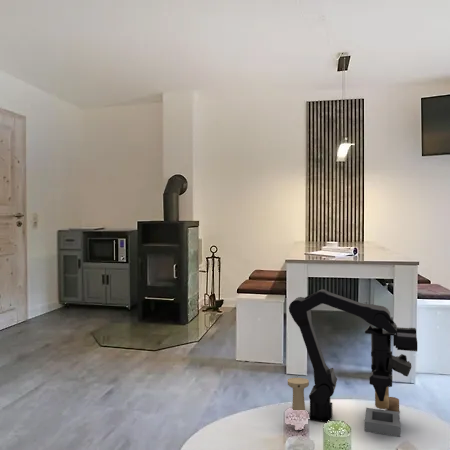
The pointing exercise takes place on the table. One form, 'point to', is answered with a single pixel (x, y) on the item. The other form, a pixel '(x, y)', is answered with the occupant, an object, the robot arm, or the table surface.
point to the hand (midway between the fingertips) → (381, 398)
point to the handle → (298, 392)
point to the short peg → (393, 404)
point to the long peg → (384, 403)
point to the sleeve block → (382, 422)
